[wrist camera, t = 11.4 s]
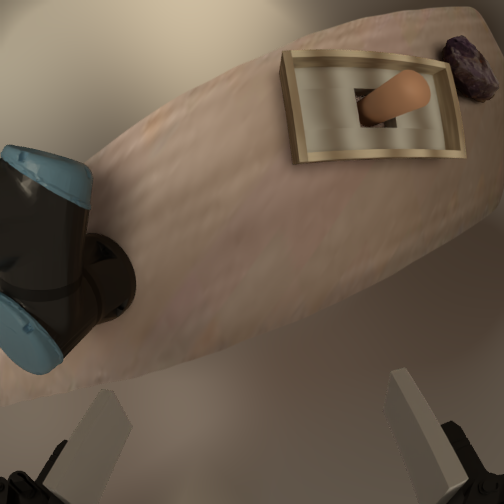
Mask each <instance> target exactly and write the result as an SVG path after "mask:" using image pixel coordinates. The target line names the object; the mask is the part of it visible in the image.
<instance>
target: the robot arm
mask: <svg viewBox="0 0 504 504" xmlns="http://www.w3.org/2000/svg"><path fill="white" fill-rule="evenodd" d="M92 184H93V176H92V172H91V170H90V169H89V168H88V167H87V166H86V165H85V164H83V163H80V162H78V161H75V160H72V159H69V158H66V157H62V156H59V155H55V154H52V153H48V152H44V151H40V150H36V149H32V148H26V147H20V146H15V145H6V146H5V147H4V149H3V151H2V152H1V158H0V347H1V348H2V350H3V351H4V352H5V354H6V355H7V356H8V357H9V358H10V359H11V360H12V361H13V362H14V363H16V364H17V365H18V366H19V367H21V368H22V369H24V370H26V371H28V372H30V373H32V374H36V375H43V374H47V373H49V372H50V371H51V370H52V369H54V368H55V367H56V366H57V365H58V364H61V363H62V362H63V359H64V358H65V357H66V356H67V355H68V353H69V352H70V351H71V350H72V349H73V348H74V347H75V346H76V345H77V344H78V343H79V342H80V341H81V340H82V339H83V338H84V337H85V336H86V335H87V334H88V333H89V332H90V331H91V330H92V328H93V327H94V326H95V325H98V324H101V323H104V322H107V321H110V320H113V319H115V318H117V317H119V316H120V315H121V314H122V313H123V312H124V311H125V310H126V309H127V308H128V307H129V306H130V304H131V303H132V301H133V298H134V295H135V290H136V280H135V274H134V270H133V267H132V265H131V262H130V260H129V258H128V257H127V255H126V253H125V252H124V251H123V250H122V248H121V247H120V246H119V245H118V244H117V243H116V242H114V241H113V240H111V239H110V238H108V237H106V236H104V235H101V234H96V233H89V234H86V230H87V223H88V216H89V210H91V204H90V199H91V191H92ZM383 413H384V415H385V417H386V420H387V422H388V425H389V427H390V430H391V432H392V434H393V437H394V439H395V442H396V444H397V446H398V449H399V452H400V454H401V457H402V459H403V462H404V465H405V467H406V470H407V472H408V475H409V478H410V480H411V483H412V485H413V488H414V491H415V494H416V497H417V500H418V503H419V504H504V474H503V475H496V474H493V473H489V472H488V471H487V470H486V469H485V468H484V466H483V464H482V463H481V461H480V459H479V457H478V456H477V454H476V452H475V450H474V448H473V447H472V445H470V442H469V440H468V438H466V435H465V433H464V432H463V430H462V428H461V427H460V426H459V425H457V424H456V423H454V422H453V421H450V422H447V423H444V424H442V425H440V424H439V422H438V421H437V419H436V417H435V416H434V414H433V412H432V410H431V409H430V407H429V405H428V404H427V402H426V400H425V399H424V397H423V395H422V393H421V392H420V390H419V389H418V387H417V385H416V384H415V382H414V380H413V379H412V377H411V376H410V374H409V373H408V371H407V369H406V368H401V369H398V370H394V371H391V372H390V377H389V383H388V389H387V394H386V399H385V404H384V408H383ZM132 427H133V426H132V424H131V423H130V421H129V419H128V417H127V416H126V414H125V412H124V410H123V408H122V406H121V405H120V403H119V401H118V399H117V397H116V395H115V393H114V391H111V390H103V389H102V390H101V391H100V392H99V394H98V395H97V397H96V398H95V400H94V402H93V403H92V405H91V406H90V408H89V409H88V411H87V412H86V414H85V415H84V417H83V418H82V420H81V422H80V423H79V425H78V426H77V428H76V429H75V431H74V432H73V434H72V436H71V437H70V439H69V440H68V441H67V440H64V441H62V442H61V443H60V444H59V445H57V447H56V448H55V450H54V452H53V455H51V456H50V458H49V460H48V461H47V463H46V464H45V466H44V468H43V469H42V471H41V473H40V474H39V476H38V478H37V479H36V481H35V482H34V481H33V480H32V479H31V478H30V477H29V476H28V475H27V474H26V473H25V472H23V471H16V472H13V473H12V474H11V475H10V476H9V478H8V481H7V480H6V479H5V478H3V477H0V504H98V503H99V501H100V499H101V496H102V494H103V491H104V489H105V487H106V485H107V482H108V480H109V478H110V475H111V473H112V471H113V469H114V467H115V464H116V462H117V460H118V457H119V455H120V453H121V451H122V449H123V447H124V444H125V442H126V440H127V438H128V436H129V434H130V431H131V429H132Z"/></svg>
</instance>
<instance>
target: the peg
mask: <svg viewBox="0 0 504 504" xmlns="http://www.w3.org/2000/svg"><path fill="white" fill-rule="evenodd" d="M430 98H431V92H430V87H429V85H428V83H427V81H426V80H425V79H424V77H423V76H421V75H420V74H419V73H417V72H415V71H413V70H403V71H401V72H400V73H398V74H397V75H395V76H394V77H393V78H391V79H390V80H388V81H387V82H385V83H384V84H382V85H381V86H380V87H378V88H377V89H375V90H374V91H372V92H371V93H370V94H368V95H367V96H365V97H364V98H363V99H361V100H360V101H358V102H357V109H358V115H359V122H360V124H361V125H363V126H367V127H371V126H374V125H377V124H379V123H382V122H384V121H387V120H389V119H392V118H395V117H397V116H400V115H402V114H405V113H408V112H411V111H413V110H416V109H419V108H422V107H424V106H426V105H427V104H428V103H429V101H430Z"/></svg>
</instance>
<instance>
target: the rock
mask: <svg viewBox="0 0 504 504" xmlns="http://www.w3.org/2000/svg"><path fill="white" fill-rule="evenodd" d="M442 55H443V60H444V62H446V63H449V64H450V67H451V71H452V75H453V79H454V83H455V86H456V87H458V89H459V90H460V91H461V92H462V93H463V95H464V96H465V97H472V98H474V99H476V100H477V101H478V102H482V103H484V102H485V101H486V100H490V99H491V98H492V97H493V96H494V93H495V92H496V91H497V90H498V89H499V82H498V80H497V78H496V77H495V75H494V74H493V71H492V69H491V67H490V65H489V63H488V61H487V60H486V59H485V58H484V57H483V55H482V54H481V53H480V52H479V51H478V50H477V49H476V47H475V46H474V45H473V44H471V43H470V42H469V41H468V40H467V38H466V37H465V36H462V35H461V36H458V37H454V38H451V39H449V40H447V43H446V46H445V47H444V48H443V51H442Z"/></svg>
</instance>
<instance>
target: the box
mask: <svg viewBox="0 0 504 504" xmlns="http://www.w3.org/2000/svg"><path fill="white" fill-rule="evenodd" d="M403 70H413V71H415V72H417V73H419V74H420V75H421V76H423V77H424V79H425V80H426V81H427V83H428V85H429V87H430V92H431V98H430V101H429V103H428V104H427V105H426V106H424V107H422V108H419V109H416V110H413V111H411V112H408V113H405V114H402V115H400V116H397V117H395V118H392V119H389V120H387V121H385V127H386V128H360V122H359V115H358V109H357V103H356V98H355V95H361V96H367V95H368V94H370V93H371V92H372V91H374V90H375V89H377V88H378V87H380V86H381V85H382V84H384V83H385V82H387V81H388V80H390V79H391V78H393V77H394V76H395V75H397V74H398V73H400V72H401V71H403ZM279 74H280V80H281V86H282V92H283V98H284V105H285V111H286V118H287V125H288V132H289V139H290V147H291V154H292V162H293V164H304V163H316V162H329V161H345V160H364V159H399V158H433V159H441V158H467V157H466V147H465V139H464V131H463V125H462V118H461V112H460V107H459V102H458V97H457V92H456V88H455V83H454V79H453V75H452V71H451V67H450V64H449V63H446V62H441V61H437V60H432V59H426V58H421V57H414V56H408V55H401V54H393V53H384V52H373V51H359V50H290V51H282V57H281V64H280V71H279Z"/></svg>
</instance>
